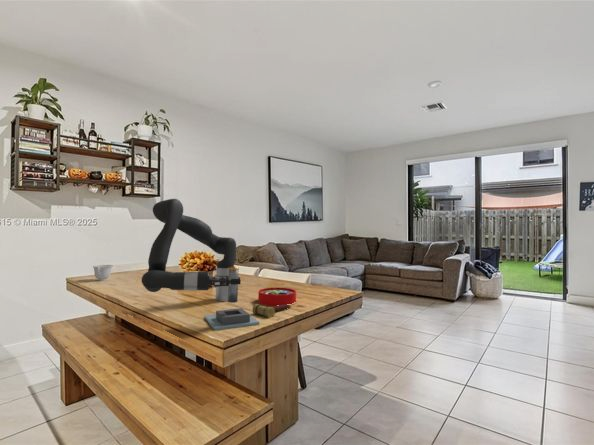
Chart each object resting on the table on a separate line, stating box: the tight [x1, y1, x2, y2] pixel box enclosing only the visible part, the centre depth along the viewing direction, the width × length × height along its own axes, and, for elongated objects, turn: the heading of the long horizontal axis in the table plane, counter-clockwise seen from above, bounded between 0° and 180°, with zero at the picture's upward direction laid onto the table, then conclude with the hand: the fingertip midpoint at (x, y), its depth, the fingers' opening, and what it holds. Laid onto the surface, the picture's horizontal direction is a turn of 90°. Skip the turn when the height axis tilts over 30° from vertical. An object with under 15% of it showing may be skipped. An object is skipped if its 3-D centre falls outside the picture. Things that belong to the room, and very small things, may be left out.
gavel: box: [251, 303, 292, 319], centre depth 150 cm, size 21×5×10 cm
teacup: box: [92, 264, 113, 282], centre depth 223 cm, size 12×15×10 cm
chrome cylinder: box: [227, 266, 240, 304], centre depth 132 cm, size 4×4×14 cm
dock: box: [204, 307, 260, 331], centre depth 134 cm, size 18×18×4 cm
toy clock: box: [257, 287, 297, 307], centre depth 171 cm, size 20×6×20 cm
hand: (240, 280), depth 133 cm, fingers closed on chrome cylinder, 4 cm apart
